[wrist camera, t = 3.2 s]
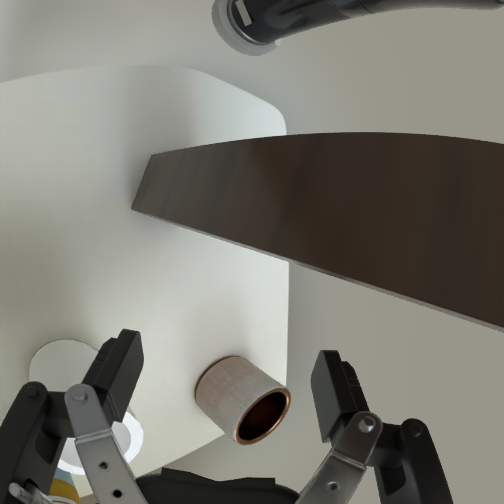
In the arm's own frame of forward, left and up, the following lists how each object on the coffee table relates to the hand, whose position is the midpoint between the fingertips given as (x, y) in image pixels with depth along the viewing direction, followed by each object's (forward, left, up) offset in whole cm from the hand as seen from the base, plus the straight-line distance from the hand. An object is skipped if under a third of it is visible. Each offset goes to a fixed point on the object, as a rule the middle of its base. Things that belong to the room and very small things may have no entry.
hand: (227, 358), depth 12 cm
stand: (-9, +1, -20) cm, 22 cm away
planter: (+9, +25, -20) cm, 34 cm away
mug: (+16, +2, -20) cm, 26 cm away
